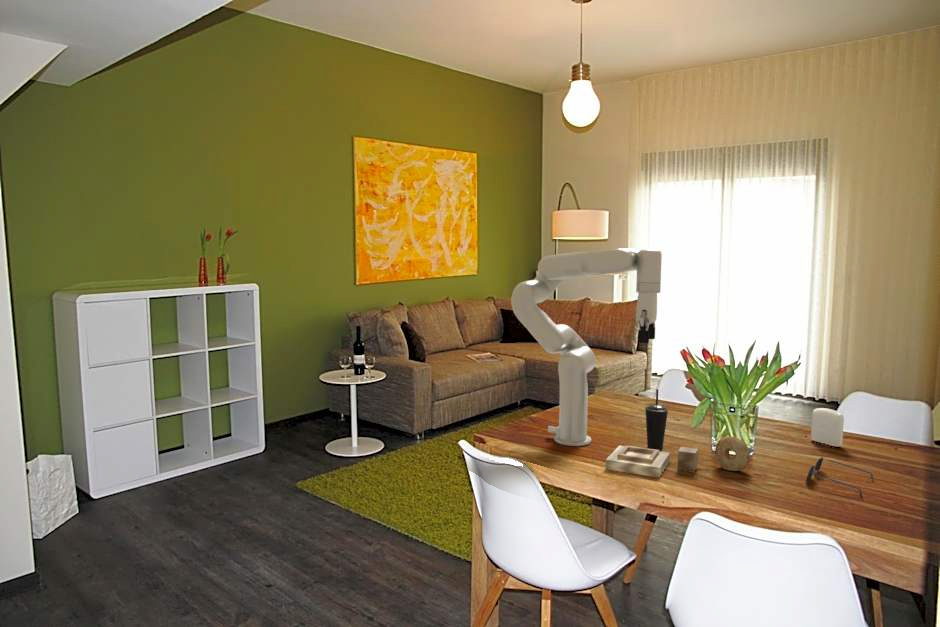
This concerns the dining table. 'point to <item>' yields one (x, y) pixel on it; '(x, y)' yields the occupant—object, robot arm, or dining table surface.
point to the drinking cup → (656, 424)
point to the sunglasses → (829, 478)
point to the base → (638, 460)
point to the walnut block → (687, 459)
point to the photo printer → (827, 426)
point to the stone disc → (729, 462)
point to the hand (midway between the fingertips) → (646, 340)
